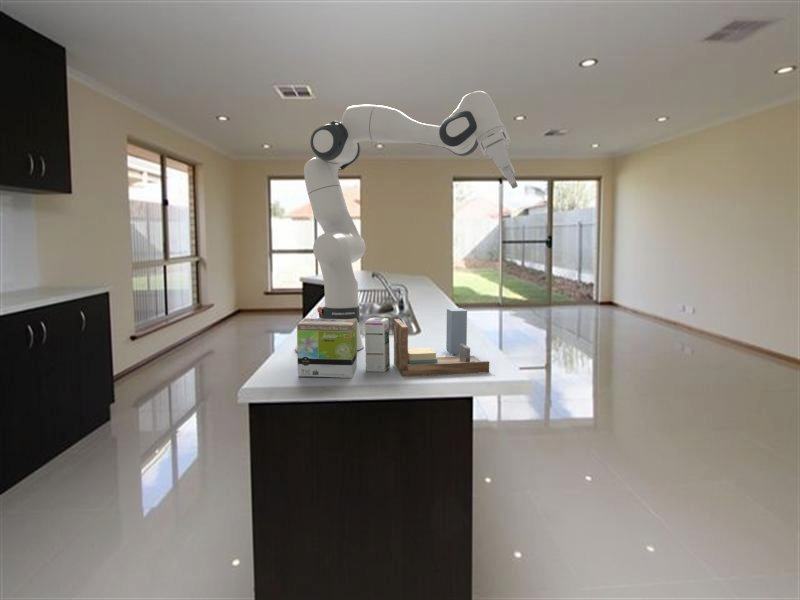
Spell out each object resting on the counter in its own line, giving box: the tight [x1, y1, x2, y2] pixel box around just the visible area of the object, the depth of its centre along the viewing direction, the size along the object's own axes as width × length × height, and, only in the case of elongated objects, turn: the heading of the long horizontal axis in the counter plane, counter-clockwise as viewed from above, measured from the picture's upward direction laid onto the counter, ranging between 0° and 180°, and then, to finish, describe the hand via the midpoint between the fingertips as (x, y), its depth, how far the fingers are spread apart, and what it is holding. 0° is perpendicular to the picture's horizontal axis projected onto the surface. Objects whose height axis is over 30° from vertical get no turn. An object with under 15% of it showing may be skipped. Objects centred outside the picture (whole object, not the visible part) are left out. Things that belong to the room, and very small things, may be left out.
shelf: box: [393, 318, 490, 377], centre depth 152 cm, size 14×24×14 cm, turn 100°
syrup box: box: [364, 317, 391, 373], centre depth 151 cm, size 6×6×14 cm
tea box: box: [296, 317, 358, 379], centre depth 147 cm, size 15×10×15 cm
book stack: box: [408, 347, 438, 364], centre depth 152 cm, size 8×8×4 cm
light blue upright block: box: [445, 307, 468, 355], centre depth 173 cm, size 5×6×14 cm
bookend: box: [459, 344, 481, 362], centre depth 153 cm, size 6×5×5 cm
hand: (514, 185), depth 157 cm, fingers open, 8 cm apart
